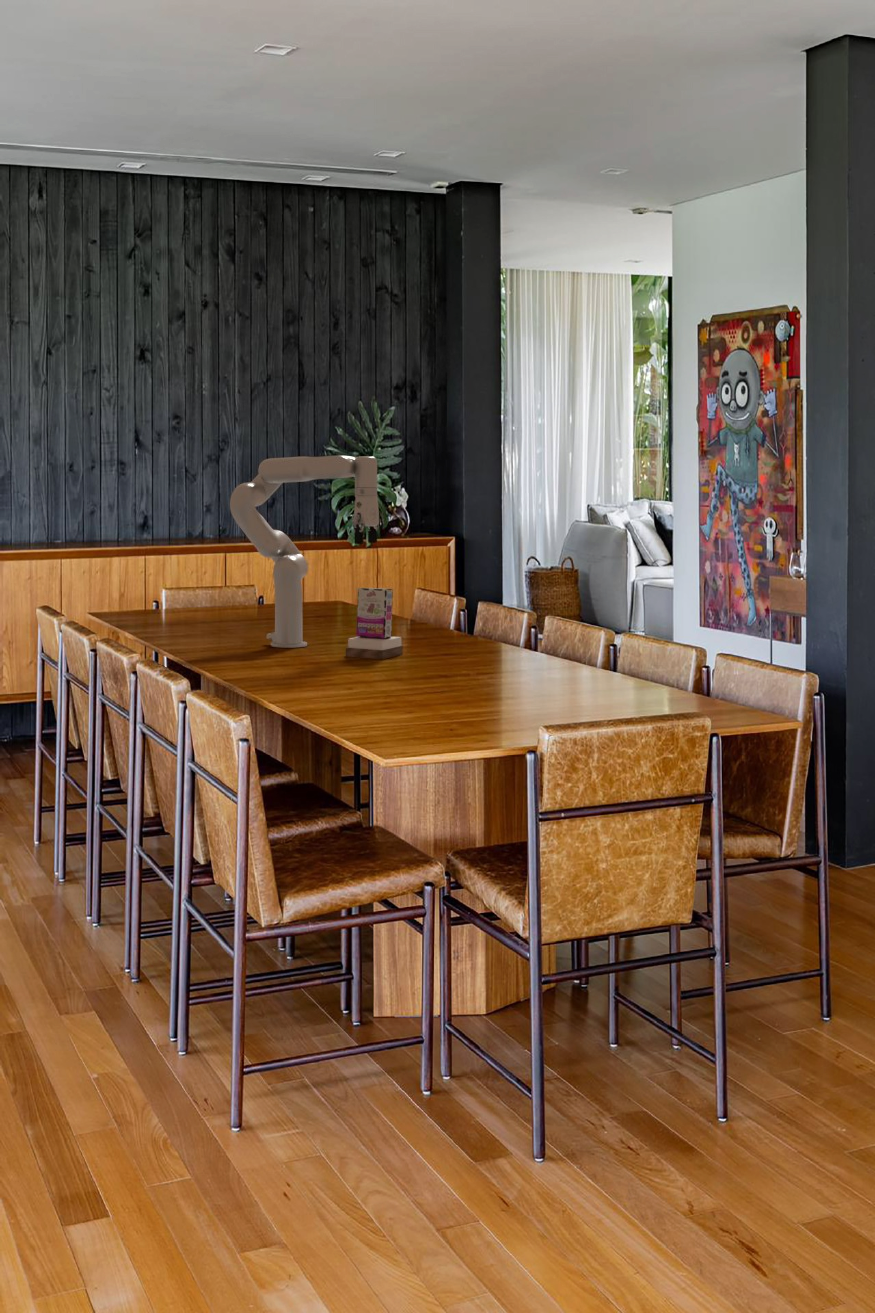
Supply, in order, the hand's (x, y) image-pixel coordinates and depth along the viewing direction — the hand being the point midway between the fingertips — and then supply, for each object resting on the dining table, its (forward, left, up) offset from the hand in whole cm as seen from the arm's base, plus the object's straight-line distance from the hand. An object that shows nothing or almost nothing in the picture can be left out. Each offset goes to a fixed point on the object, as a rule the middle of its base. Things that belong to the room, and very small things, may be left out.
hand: (365, 543), depth 485 cm
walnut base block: (+11, -14, -37) cm, 41 cm away
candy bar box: (+11, -14, -31) cm, 36 cm away
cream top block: (+11, -14, -34) cm, 38 cm away
